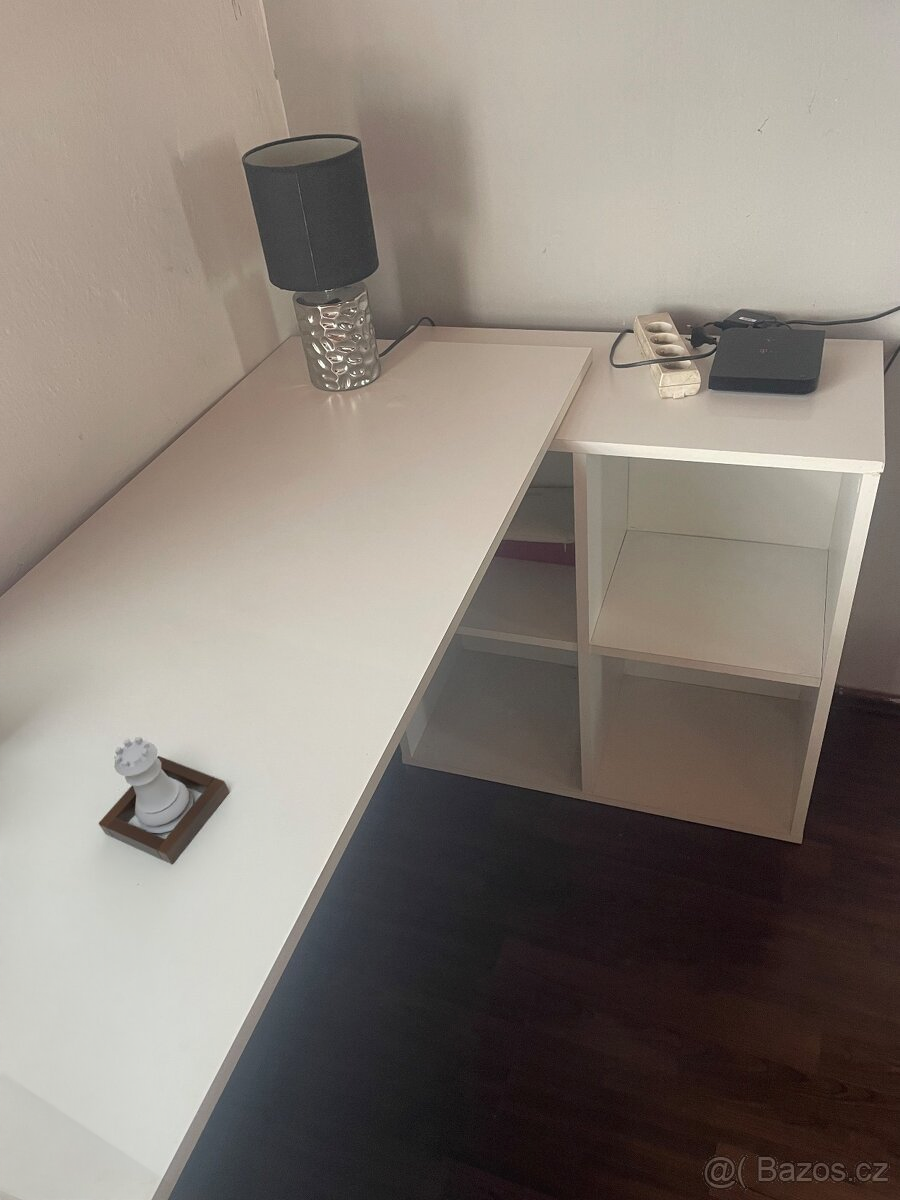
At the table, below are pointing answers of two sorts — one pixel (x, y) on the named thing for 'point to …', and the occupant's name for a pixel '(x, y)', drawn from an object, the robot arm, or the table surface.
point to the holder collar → (186, 827)
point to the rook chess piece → (152, 787)
